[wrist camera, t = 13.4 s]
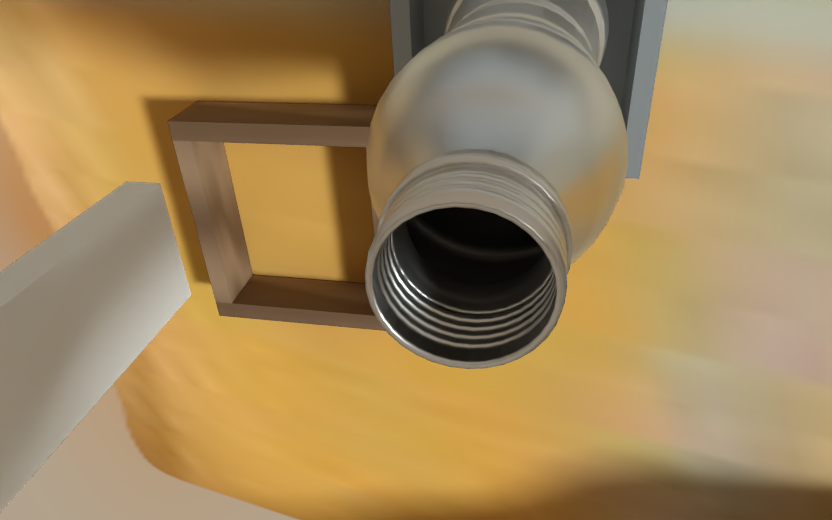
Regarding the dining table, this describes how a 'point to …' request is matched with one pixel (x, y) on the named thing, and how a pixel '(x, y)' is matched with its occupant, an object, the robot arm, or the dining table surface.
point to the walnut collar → (219, 217)
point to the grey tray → (621, 64)
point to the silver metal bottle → (492, 178)
